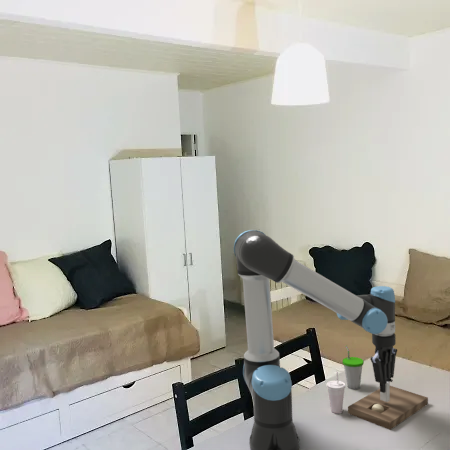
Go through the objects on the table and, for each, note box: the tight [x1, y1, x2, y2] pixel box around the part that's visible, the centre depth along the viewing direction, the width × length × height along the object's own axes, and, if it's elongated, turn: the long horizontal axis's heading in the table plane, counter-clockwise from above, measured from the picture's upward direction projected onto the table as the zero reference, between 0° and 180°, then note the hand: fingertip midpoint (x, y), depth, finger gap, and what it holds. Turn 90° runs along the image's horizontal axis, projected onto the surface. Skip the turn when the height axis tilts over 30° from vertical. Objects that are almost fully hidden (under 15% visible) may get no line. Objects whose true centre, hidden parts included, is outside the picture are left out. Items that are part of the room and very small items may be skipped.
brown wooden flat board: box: [347, 385, 429, 431], centre depth 177 cm, size 24×16×2 cm, turn 131°
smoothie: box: [325, 371, 346, 415], centre depth 177 cm, size 6×6×14 cm
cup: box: [342, 345, 364, 390], centre depth 196 cm, size 8×8×15 cm
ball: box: [372, 404, 384, 413], centre depth 173 cm, size 4×4×4 cm
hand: (385, 400), depth 176 cm, fingers closed
